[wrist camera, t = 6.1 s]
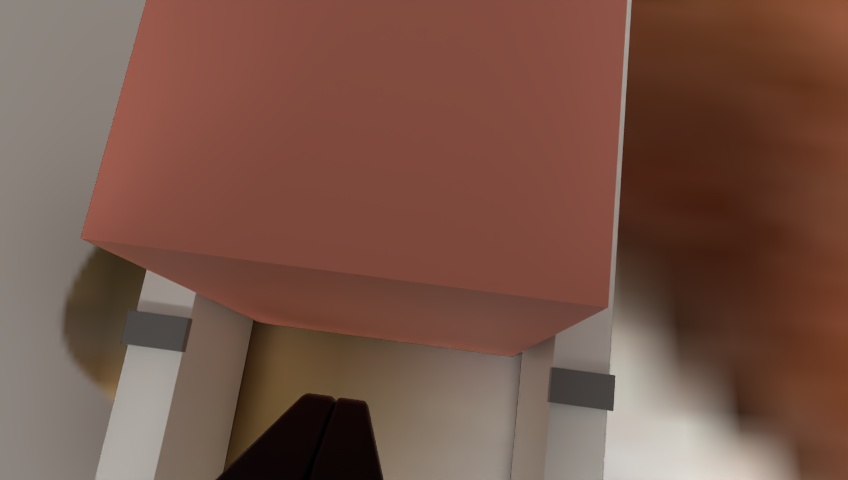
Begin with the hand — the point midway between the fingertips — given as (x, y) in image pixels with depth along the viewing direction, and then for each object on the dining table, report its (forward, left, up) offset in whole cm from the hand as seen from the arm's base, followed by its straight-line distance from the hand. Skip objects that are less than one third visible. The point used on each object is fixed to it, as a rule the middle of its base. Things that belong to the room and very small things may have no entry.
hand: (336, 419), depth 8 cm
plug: (+5, 0, -7) cm, 8 cm away
